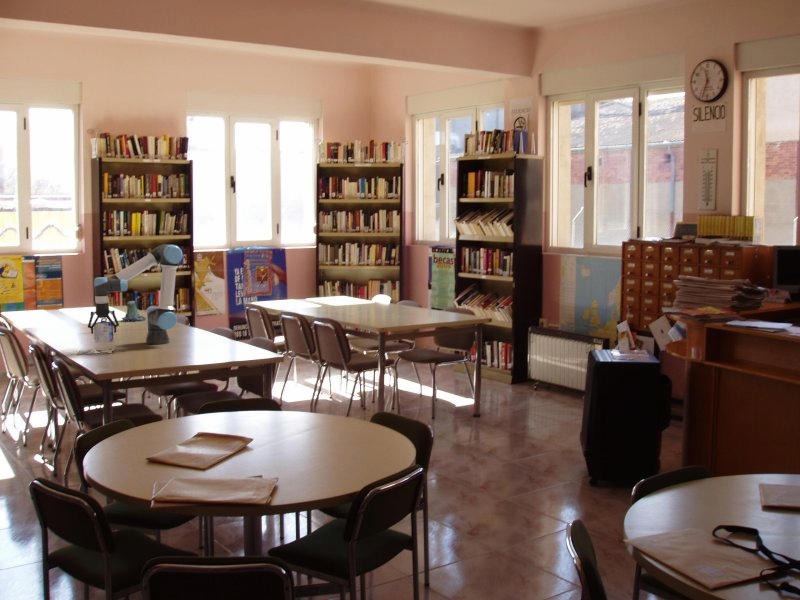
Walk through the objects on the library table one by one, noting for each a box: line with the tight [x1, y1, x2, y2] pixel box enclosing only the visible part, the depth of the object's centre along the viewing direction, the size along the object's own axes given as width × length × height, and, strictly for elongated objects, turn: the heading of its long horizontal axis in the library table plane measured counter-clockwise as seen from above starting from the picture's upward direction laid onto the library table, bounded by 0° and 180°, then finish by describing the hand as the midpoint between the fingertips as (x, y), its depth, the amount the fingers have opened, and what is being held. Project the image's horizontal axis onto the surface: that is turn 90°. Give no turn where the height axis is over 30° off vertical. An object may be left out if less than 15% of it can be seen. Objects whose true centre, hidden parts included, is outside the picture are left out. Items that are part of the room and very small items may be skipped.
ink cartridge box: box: [93, 317, 115, 343], centre depth 523 cm, size 10×6×14 cm, turn 79°
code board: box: [77, 348, 108, 355], centre depth 523 cm, size 20×14×1 cm
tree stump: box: [121, 300, 147, 323], centre depth 665 cm, size 18×20×18 cm
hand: (104, 338), depth 524 cm, fingers closed on ink cartridge box, 11 cm apart
